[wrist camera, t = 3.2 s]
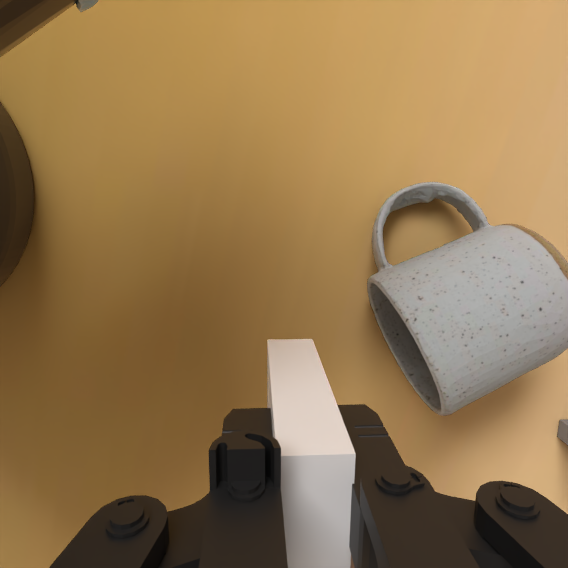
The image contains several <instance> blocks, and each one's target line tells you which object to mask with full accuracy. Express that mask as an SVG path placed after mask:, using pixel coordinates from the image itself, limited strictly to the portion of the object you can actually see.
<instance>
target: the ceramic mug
mask: <svg viewBox="0 0 568 568" xmlns="http://www.w3.org/2000/svg"><path fill="white" fill-rule="evenodd" d="M434 198H436V199H440V200H443V201H445V202H447V203H449V204H451V205H452V206H454V207H455V208H456V209H457V211H458V212H460V213H461V214H462V215H463V216H464V218H465V219H466V220H467V221H468V223H469V224H470V226H471V228H472V229H473V231H474V232H473V233H470V234H468V235H466V236H464V237H461V238H459V239H457V240H454V241H452V242H449V243H447V244H444V245H443V246H442V247H440V248H437V249H434V250H432V251H429V252H426V253H423V254H421V255H419V256H416V257H413V258H411V259H409V260H407V261H404V262H401V263H399V264H397V265H394V266H392V265H391V264H389V263H388V261H387V259H386V257H385V254H384V244H383V226H384V224H385V221H386V217H387V216H388V215H389V213H390V212H392V211H394V210H398V209H400V208H403V207H406V206H408V205H411V204H415V203H420V202H424V203H428V202H430V201H432V200H433V199H434ZM372 248H373V254H374V259H375V263H376V266H377V269H378V272H377V273H376V274H374V275H372V276H370V278H369V279H368V281H367V290H368V296H369V300H370V304H371V306H372V308H373V311H374V314H375V317H376V320H377V323H378V325H379V327H380V329H381V331H382V334H383V336H384V338H385V341H386V342H387V344H388V346H389V348H390V350H391V352H392V354H393V355H394V357H395V359H396V361H397V363H398V365H399V366H400V368H401V370H402V371H403V373H404V375H405V377H406V379H407V380H408V381H409V382H410V384H411V385H412V387H413V388H414V390H415V391H416V392H417V393H418V395H419V396H420V398H421V399H422V400H423V401H424V402H425V403H426V404H427V405H428V406H429V408H430V409H431V410H433V411H434V412H435V413H437V414H438V415H443V416H444V415H449V414H452V413H454V412H455V411H457V410H459V409H461V408H462V407H464V406H466V405H468V404H470V403H471V402H473V401H475V400H477V399H479V398H481V397H483V396H485V395H487V394H489V393H491V392H492V391H494V390H496V389H498V388H500V387H502V386H503V385H505V384H507V383H509V382H510V381H512V380H514V379H516V378H518V377H519V376H521V375H523V374H525V373H527V372H529V371H531V370H533V369H535V368H537V367H539V366H541V365H543V364H545V363H547V362H549V361H551V360H552V359H554V358H556V357H557V356H558V355H560V354H561V353H562V352H564V351H565V350H566V349H567V348H568V263H567V261H566V260H565V258H564V257H563V256H562V255H561V253H560V252H559V251H558V250H557V249H556V248H555V247H554V246H553V245H552V244H551V243H550V242H549V241H547V240H546V239H545V238H543V237H542V236H540V235H539V234H537V233H536V232H534V231H532V230H530V229H527V228H525V227H522V226H519V225H515V224H503V225H498V226H491V225H490V224H489V223H488V222H487V218H486V216H485V215H484V213H483V211H482V209H481V208H480V207H479V206H478V205H477V203H476V202H475V201H474V200H473V199H472V198H471V197H470V196H468V195H467V194H466V193H465V192H464V191H462V190H460V189H459V188H457V187H454V186H451V185H448V184H443V183H438V182H425V183H418V184H415V185H412V186H409V187H406V188H403V189H401V190H399V191H397V192H396V193H394V194H393V195H391V196H390V197H389V198H388V199H387V200H386V201H385V203H384V204H383V205H382V207H381V208H380V210H379V213H378V215H377V218H376V220H375V223H374V227H373V232H372Z"/></svg>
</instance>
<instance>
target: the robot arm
mask: <svg viewBox="0 0 568 568" xmlns="http://www.w3.org/2000/svg"><path fill="white" fill-rule="evenodd" d="M97 2H98V0H0V57H1V56H3V55H4V54H6V53H7V52H8V51H10V50H11V49H13V48H14V47H15V46H17V45H18V44H20V43H21V42H22V41H24V40H25V39H26V38H28V37H29V36H31V35H32V34H33V33H35V32H36V31H38V30H39V29H40V28H42V27H43V26H45V25H46V24H47V23H49V22H50V21H52V20H53V19H54V18H56V17H57V16H58V15H60V14H61V13H63V12H64V11H65V10H67V9H68V8H70V7H71V6H72V5H74V4H75V3H76V5H77V8H78V9H79V11H80V12H83V11H85V10H87V9H89V8H91V7H92V6H93V5H95V4H96V3H97ZM33 210H34V189H33V180H32V173H31V169H30V164H29V160H28V157H27V153H26V150H25V148H24V145H23V142H22V140H21V137H20V135H19V133H18V131H17V129H16V127H15V125H14V123H13V121H12V119H11V117H10V116H9V114H8V113H7V111H6V109H5V108H4V106H3V105H2V104H1V102H0V286H1V285H2V284H3V283H4V282H5V281H6V279H7V278H8V277H9V275H10V274H11V273H12V271H13V270H14V268H15V267H16V265H17V263H18V262H19V260H20V258H21V256H22V254H23V251H24V249H25V247H26V244H27V241H28V238H29V234H30V230H31V226H32V220H33ZM209 474H210V492H209V493H208V494H207V495H206V496H205V497H204V498H202V499H201V500H199V501H197V502H196V503H194V504H192V505H189V506H186V507H184V508H180V509H177V510H173V511H169V512H167V510H166V506H165V505H164V504H163V503H161V502H160V501H159V500H158V499H156V498H152V497H149V496H129V497H125V498H121V499H117V500H115V501H113V502H111V503H109V504H107V505H105V506H103V507H102V508H101V509H100V510H98V511H97V512H96V513H95V514H94V515H93V516H92V517H91V518H90V519H89V520H88V522H87V523H86V524H85V525H84V526H83V528H82V529H81V530H80V531H79V532H78V534H77V535H76V536H75V537H74V538H73V540H72V541H71V542H70V543H69V544H68V546H67V547H66V548H65V549H64V550H63V552H62V553H61V554H60V555H59V556H58V558H57V559H56V560H55V561H54V562H53V564H52V565H51V566H50V567H49V568H350V565H351V555H352V559H353V563H354V567H355V568H568V514H566V513H565V512H564V511H563V510H561V509H560V508H559V507H557V506H556V505H555V504H554V503H552V502H551V501H550V500H548V499H547V498H546V497H544V496H543V495H541V494H539V493H538V492H536V491H534V490H533V489H530V488H528V487H525V486H522V485H520V484H517V483H513V482H506V481H493V482H488V483H486V484H483V485H481V486H480V488H479V489H478V491H477V493H476V501H473V500H467V499H462V498H457V497H451V496H447V495H443V494H440V493H437V492H435V491H434V489H433V487H432V486H431V484H430V482H429V481H428V480H427V479H426V478H425V477H424V476H423V474H421V473H420V472H418V471H416V470H415V469H413V468H411V467H408V466H405V464H404V462H403V460H402V459H401V457H400V455H399V453H398V451H397V449H396V447H395V446H394V444H393V442H392V440H391V438H390V437H389V436H388V433H387V431H386V429H385V427H383V423H382V421H381V420H380V418H379V416H378V414H377V413H376V412H374V411H373V410H372V409H370V408H369V407H367V406H366V405H365V404H364V405H337V403H336V400H335V398H334V395H333V392H332V390H331V387H330V384H329V382H328V379H327V376H326V374H325V371H324V368H323V366H322V363H321V360H320V358H319V355H318V352H317V350H316V347H315V344H314V342H313V339H268V340H267V408H251V409H233V410H232V411H231V412H230V413H229V414H228V415H227V416H226V417H225V419H224V423H223V430H222V436H221V437H219V438H218V439H217V440H215V441H214V442H213V443H212V445H211V447H210V449H209Z"/></svg>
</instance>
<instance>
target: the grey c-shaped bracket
mask: <svg viewBox="0 0 568 568" xmlns="http://www.w3.org/2000/svg"><path fill="white" fill-rule="evenodd" d="M557 437H558V438H559V439H561V440H562V441H563V442H564V443H565V444H567V445H568V420H560V422H559V428H558V434H557Z"/></svg>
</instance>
